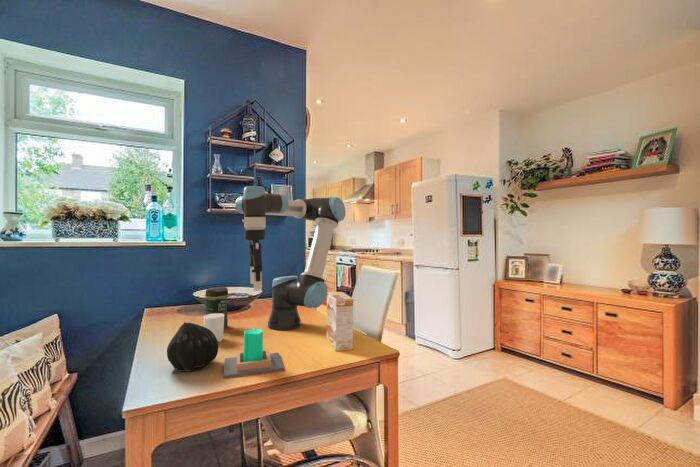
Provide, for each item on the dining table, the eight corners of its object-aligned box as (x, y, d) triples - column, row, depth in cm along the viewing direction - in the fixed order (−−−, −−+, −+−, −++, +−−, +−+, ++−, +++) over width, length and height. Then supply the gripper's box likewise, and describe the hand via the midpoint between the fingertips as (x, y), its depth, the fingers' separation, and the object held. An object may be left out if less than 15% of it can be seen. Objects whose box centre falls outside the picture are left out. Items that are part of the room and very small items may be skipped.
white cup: (216, 344, 128) (216, 318, 128) (198, 342, 130) (199, 317, 129) (228, 338, 136) (228, 313, 136) (211, 336, 137) (211, 312, 137)
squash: (229, 351, 106) (213, 311, 112) (180, 366, 95) (166, 321, 101) (214, 370, 113) (201, 332, 120) (168, 387, 102) (155, 344, 109)
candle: (243, 367, 105) (243, 329, 105) (244, 360, 110) (244, 324, 110) (262, 365, 106) (263, 328, 106) (262, 358, 112) (262, 323, 112)
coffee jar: (213, 332, 143) (214, 289, 143) (201, 329, 147) (201, 288, 147) (231, 326, 152) (231, 286, 152) (219, 324, 156) (219, 285, 156)
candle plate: (278, 354, 118) (278, 346, 118) (283, 370, 105) (283, 361, 105) (224, 360, 112) (225, 351, 112) (223, 378, 99) (223, 368, 99)
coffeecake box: (325, 339, 136) (326, 291, 136) (342, 337, 138) (342, 291, 138) (335, 351, 122) (335, 299, 122) (353, 349, 124) (354, 298, 124)
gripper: (242, 228, 130) (243, 281, 131) (246, 229, 107) (247, 294, 108) (261, 228, 133) (262, 280, 134) (270, 229, 110) (271, 292, 110)
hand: (255, 286), depth 121 cm, fingers open, 13 cm apart
